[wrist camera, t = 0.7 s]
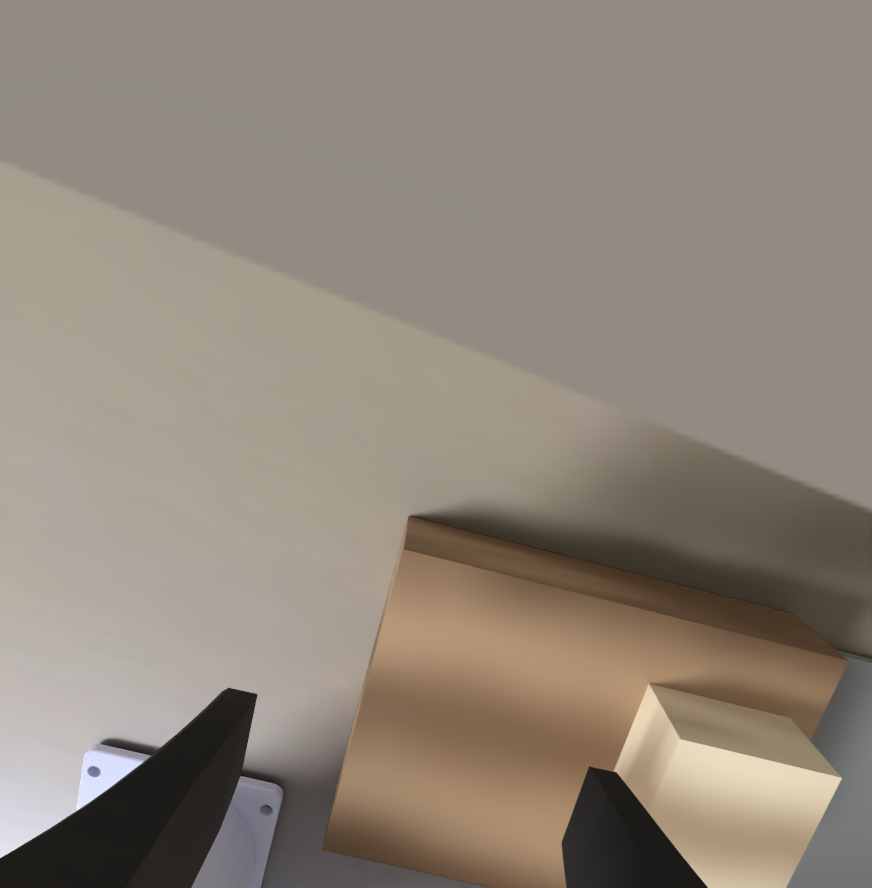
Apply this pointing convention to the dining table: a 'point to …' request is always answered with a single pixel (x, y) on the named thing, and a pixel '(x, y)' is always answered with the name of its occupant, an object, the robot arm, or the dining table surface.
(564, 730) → the block
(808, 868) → the rubber mat
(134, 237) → the dining table surface
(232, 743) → the robot arm
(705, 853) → the ash block
